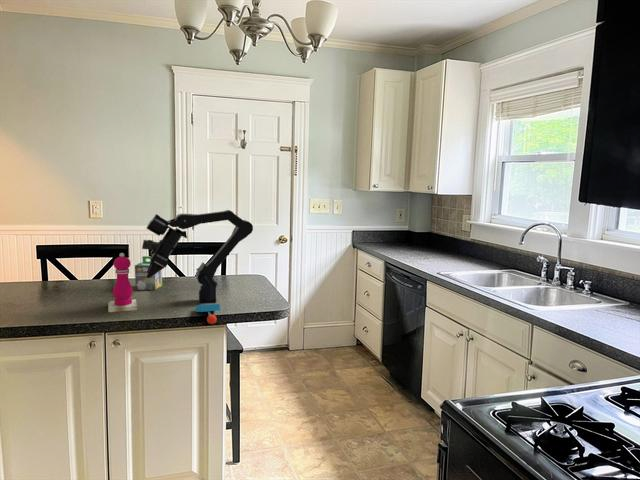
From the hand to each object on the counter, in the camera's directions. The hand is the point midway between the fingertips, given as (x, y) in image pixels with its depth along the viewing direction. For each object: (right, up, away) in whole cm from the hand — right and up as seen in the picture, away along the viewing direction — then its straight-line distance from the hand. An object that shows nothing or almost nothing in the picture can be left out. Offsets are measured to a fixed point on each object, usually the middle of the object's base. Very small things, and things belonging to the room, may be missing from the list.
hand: (147, 275), depth 184 cm
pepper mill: (-8, -11, -3) cm, 14 cm away
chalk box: (-10, -8, +29) cm, 32 cm away
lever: (+27, -15, -11) cm, 32 cm away
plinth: (-9, -12, -3) cm, 15 cm away
